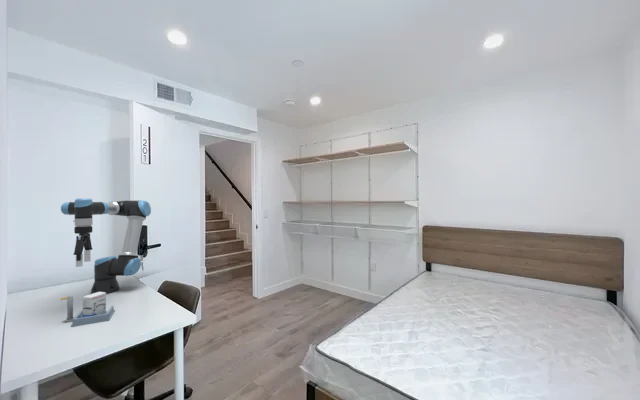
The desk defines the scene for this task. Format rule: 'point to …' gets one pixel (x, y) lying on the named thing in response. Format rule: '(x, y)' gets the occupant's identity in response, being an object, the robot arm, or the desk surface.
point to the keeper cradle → (84, 320)
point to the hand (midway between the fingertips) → (83, 264)
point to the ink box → (94, 304)
